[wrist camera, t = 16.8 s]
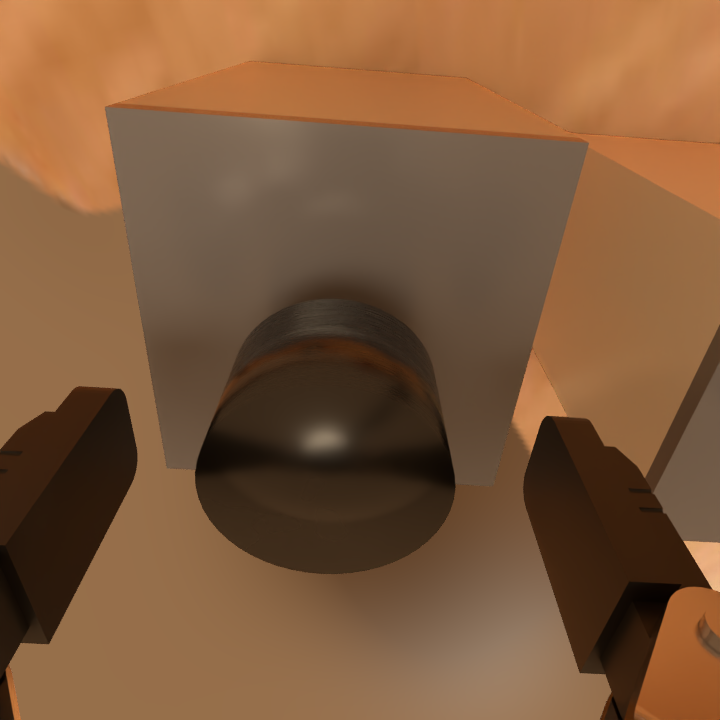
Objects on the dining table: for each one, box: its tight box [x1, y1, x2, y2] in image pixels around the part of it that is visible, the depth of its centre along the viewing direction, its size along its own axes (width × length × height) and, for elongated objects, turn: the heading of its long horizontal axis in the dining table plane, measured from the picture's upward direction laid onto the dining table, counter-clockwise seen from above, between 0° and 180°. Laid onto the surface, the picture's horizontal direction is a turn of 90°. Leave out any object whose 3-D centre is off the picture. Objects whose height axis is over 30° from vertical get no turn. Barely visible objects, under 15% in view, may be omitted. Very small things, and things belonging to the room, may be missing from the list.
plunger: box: [195, 299, 455, 574], centre depth 17 cm, size 8×8×19 cm
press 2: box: [532, 133, 720, 543], centre depth 22 cm, size 10×10×16 cm
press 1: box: [105, 61, 589, 486], centre depth 20 cm, size 10×10×16 cm
